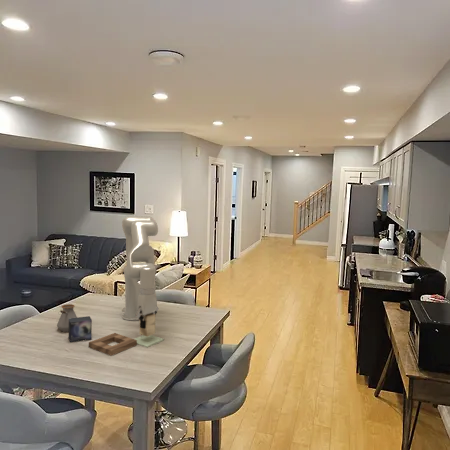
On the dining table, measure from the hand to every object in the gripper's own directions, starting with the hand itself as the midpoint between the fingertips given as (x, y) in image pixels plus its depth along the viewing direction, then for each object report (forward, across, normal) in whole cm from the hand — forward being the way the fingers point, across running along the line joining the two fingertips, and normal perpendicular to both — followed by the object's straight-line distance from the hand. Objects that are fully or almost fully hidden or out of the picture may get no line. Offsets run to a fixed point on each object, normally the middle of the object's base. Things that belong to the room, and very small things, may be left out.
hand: (147, 325), depth 207 cm
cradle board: (+8, +15, -8) cm, 19 cm away
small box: (+8, +19, -28) cm, 35 cm away
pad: (+8, 0, 0) cm, 8 cm away
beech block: (+4, 0, 0) cm, 4 cm away
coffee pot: (+8, +18, -41) cm, 46 cm away
